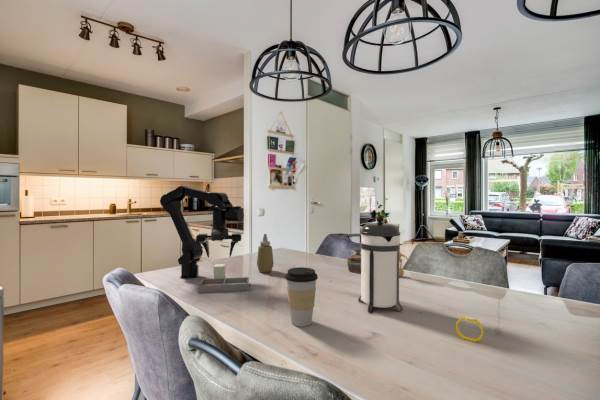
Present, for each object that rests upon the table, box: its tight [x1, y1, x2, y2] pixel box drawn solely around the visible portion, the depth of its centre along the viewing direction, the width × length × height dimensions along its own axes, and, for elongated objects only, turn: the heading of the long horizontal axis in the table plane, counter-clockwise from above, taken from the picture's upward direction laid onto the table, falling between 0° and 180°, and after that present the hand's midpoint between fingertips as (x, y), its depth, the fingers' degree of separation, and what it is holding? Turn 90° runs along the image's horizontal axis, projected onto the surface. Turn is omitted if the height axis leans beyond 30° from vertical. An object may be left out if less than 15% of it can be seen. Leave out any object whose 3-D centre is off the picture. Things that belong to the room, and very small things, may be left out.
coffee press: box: [358, 215, 403, 314], centre depth 100 cm, size 17×16×30 cm
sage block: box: [213, 263, 227, 279], centre depth 131 cm, size 4×4×6 cm
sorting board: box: [197, 276, 250, 294], centre depth 119 cm, size 18×10×2 cm, turn 98°
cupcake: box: [346, 249, 361, 274], centre depth 145 cm, size 10×10×10 cm
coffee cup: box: [284, 267, 319, 328], centre depth 87 cm, size 9×9×15 cm
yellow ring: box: [455, 314, 484, 343], centre depth 77 cm, size 6×3×6 cm, turn 53°
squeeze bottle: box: [256, 233, 275, 274], centre depth 144 cm, size 8×8×18 cm
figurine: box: [399, 250, 410, 278], centre depth 134 cm, size 8×6×12 cm
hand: (219, 257), depth 131 cm, fingers open, 9 cm apart
